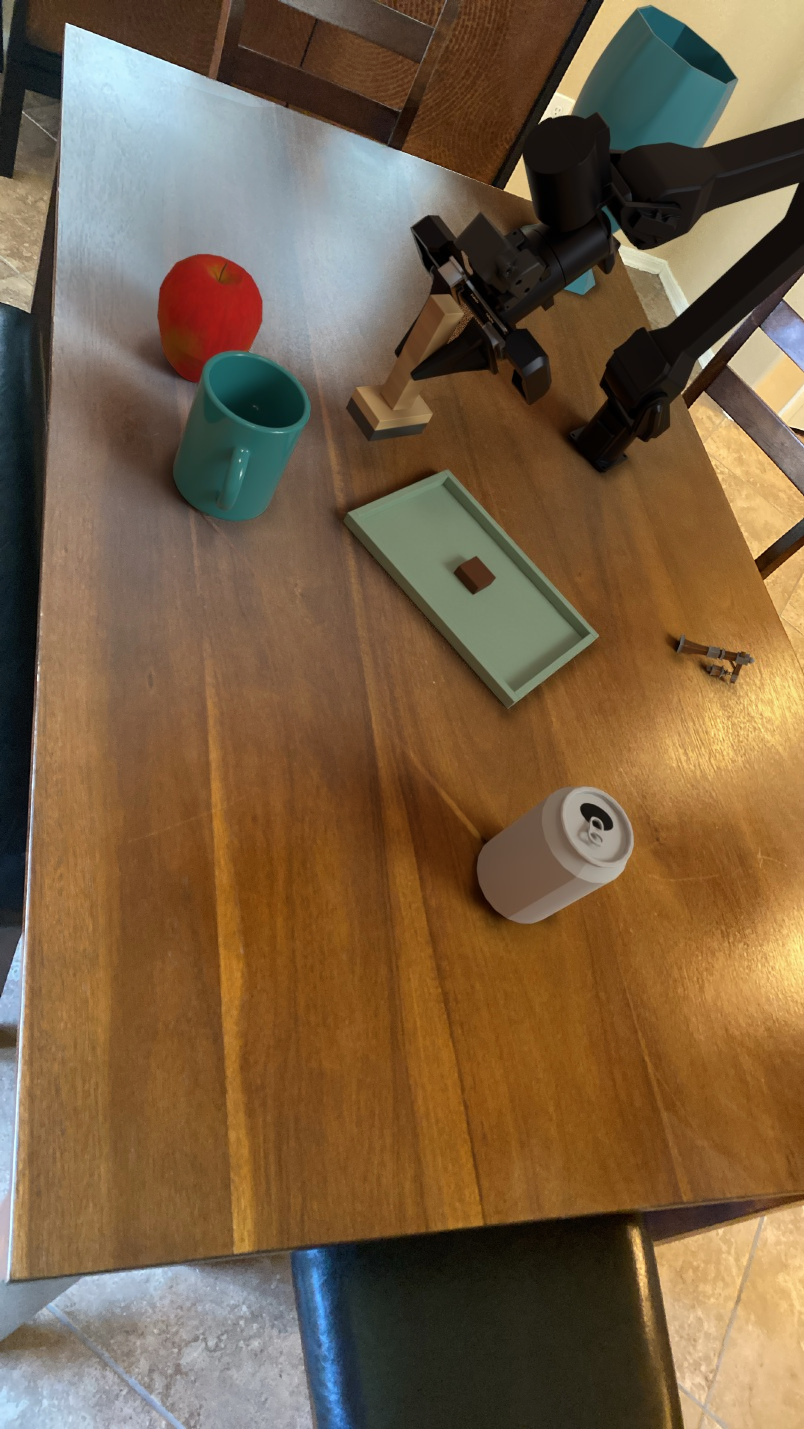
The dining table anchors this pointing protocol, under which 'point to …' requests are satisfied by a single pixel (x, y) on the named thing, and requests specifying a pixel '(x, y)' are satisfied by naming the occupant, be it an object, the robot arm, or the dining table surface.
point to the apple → (206, 312)
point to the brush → (406, 377)
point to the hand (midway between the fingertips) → (403, 366)
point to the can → (555, 854)
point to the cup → (239, 435)
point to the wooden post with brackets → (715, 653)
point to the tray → (482, 627)
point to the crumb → (474, 575)
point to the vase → (654, 91)
